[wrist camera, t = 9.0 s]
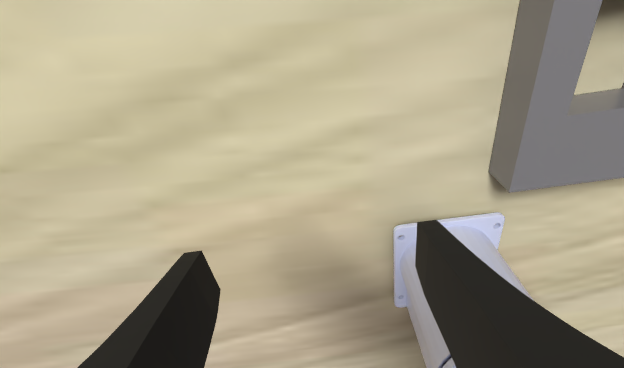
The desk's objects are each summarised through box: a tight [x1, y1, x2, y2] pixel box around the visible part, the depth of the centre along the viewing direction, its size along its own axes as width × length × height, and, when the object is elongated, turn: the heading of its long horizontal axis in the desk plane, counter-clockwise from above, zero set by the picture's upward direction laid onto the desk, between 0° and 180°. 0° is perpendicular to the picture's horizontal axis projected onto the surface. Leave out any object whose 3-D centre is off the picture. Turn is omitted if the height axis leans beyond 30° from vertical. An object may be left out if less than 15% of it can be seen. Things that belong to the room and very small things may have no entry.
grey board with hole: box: [489, 0, 624, 193], centre depth 16 cm, size 15×9×2 cm, turn 8°
